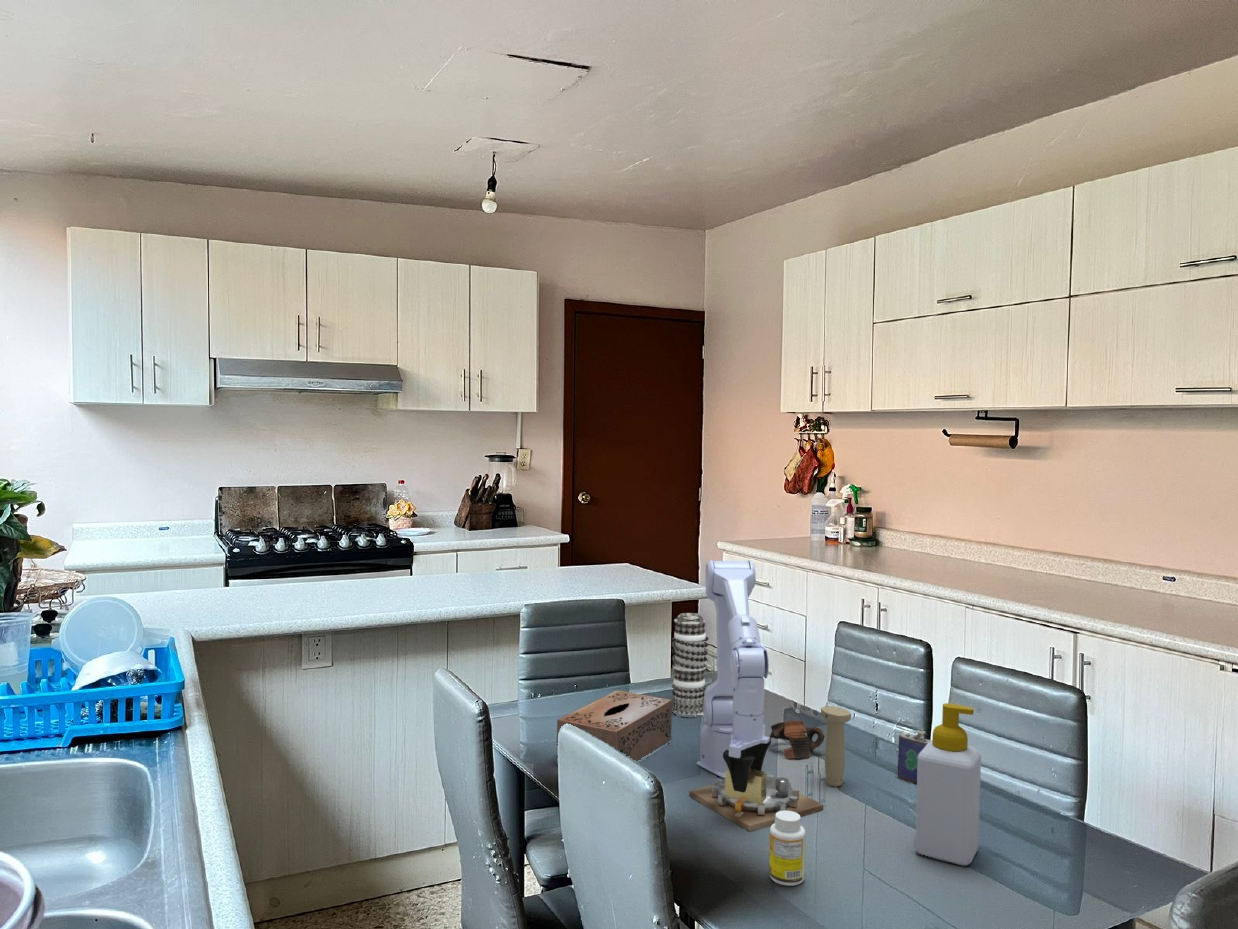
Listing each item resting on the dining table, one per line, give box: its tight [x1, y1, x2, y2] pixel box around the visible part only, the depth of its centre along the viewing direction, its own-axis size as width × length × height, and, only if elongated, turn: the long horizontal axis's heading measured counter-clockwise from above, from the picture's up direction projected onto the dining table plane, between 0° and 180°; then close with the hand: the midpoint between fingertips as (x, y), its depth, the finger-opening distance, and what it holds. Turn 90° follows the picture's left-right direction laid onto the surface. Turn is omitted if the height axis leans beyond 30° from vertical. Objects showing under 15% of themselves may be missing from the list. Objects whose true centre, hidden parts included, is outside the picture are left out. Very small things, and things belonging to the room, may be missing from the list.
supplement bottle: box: [769, 811, 807, 887], centre depth 142 cm, size 6×6×10 cm
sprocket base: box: [688, 784, 824, 832], centre depth 172 cm, size 18×18×1 cm
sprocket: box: [712, 773, 800, 815], centre depth 172 cm, size 16×16×4 cm
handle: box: [820, 705, 852, 788], centre depth 181 cm, size 5×6×15 cm
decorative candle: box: [671, 612, 709, 716], centre depth 226 cm, size 9×9×25 cm
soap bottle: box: [914, 702, 982, 866], centre depth 152 cm, size 9×9×25 cm
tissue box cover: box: [556, 689, 673, 761], centre depth 197 cm, size 26×14×10 cm, turn 151°
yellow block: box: [724, 768, 768, 804], centre depth 167 cm, size 7×3×5 cm, turn 62°
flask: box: [897, 729, 932, 785], centre depth 183 cm, size 9×3×11 cm, turn 50°
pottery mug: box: [768, 719, 826, 760], centre depth 200 cm, size 12×10×8 cm
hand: (746, 784), depth 167 cm, fingers open, 7 cm apart
